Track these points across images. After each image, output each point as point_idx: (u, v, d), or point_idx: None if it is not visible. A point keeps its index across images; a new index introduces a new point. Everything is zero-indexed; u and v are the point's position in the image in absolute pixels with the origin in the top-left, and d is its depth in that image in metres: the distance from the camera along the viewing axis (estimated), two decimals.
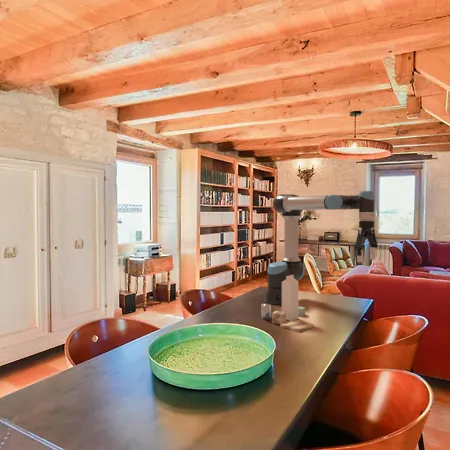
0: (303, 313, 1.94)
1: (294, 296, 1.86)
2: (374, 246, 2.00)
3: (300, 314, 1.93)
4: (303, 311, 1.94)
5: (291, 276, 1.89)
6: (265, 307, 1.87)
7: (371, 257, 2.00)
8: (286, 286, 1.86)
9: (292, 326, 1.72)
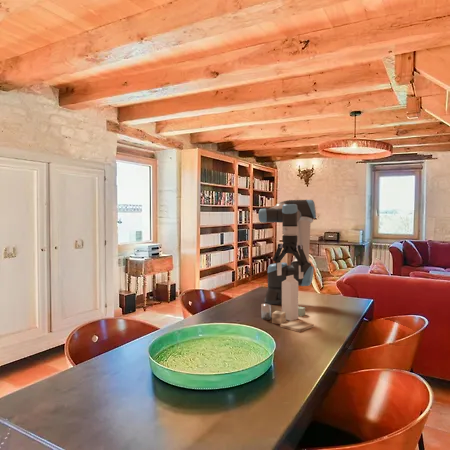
0: (303, 313, 1.94)
1: (294, 296, 1.86)
2: (300, 264, 1.82)
3: (300, 314, 1.93)
4: (303, 311, 1.94)
5: (291, 276, 1.89)
6: (265, 307, 1.87)
7: None
8: (286, 286, 1.86)
9: (292, 326, 1.72)
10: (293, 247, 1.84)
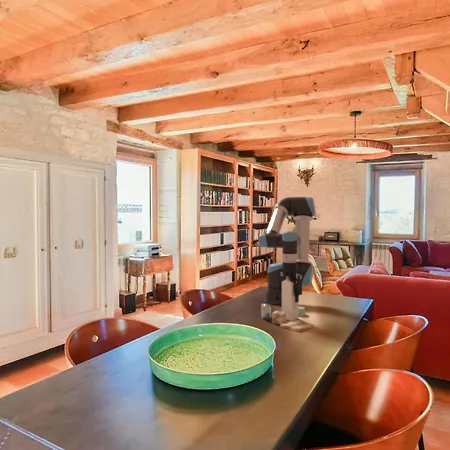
0: (303, 313, 1.94)
1: None
2: (294, 294, 1.85)
3: (300, 314, 1.93)
4: (303, 311, 1.94)
5: None
6: (265, 307, 1.87)
7: None
8: (286, 286, 1.86)
9: (292, 326, 1.72)
10: (293, 274, 1.85)
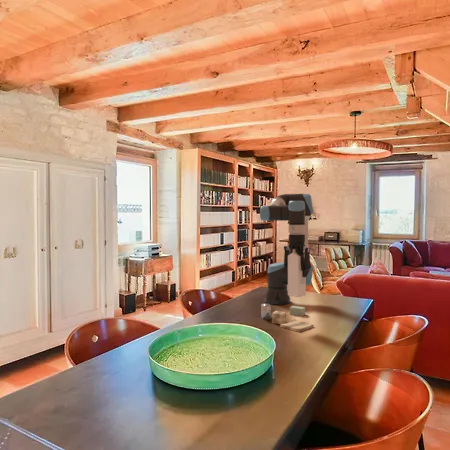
0: (303, 313, 1.94)
1: None
2: None
3: (300, 314, 1.93)
4: (303, 311, 1.94)
5: None
6: (265, 307, 1.87)
7: None
8: (293, 260, 1.72)
9: (292, 326, 1.72)
10: (300, 247, 1.71)
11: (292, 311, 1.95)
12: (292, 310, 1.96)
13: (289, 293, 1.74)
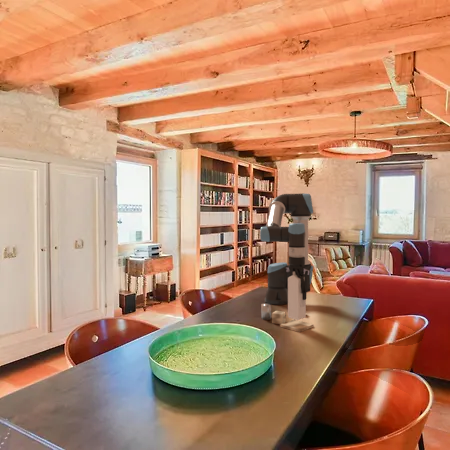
0: None
1: None
2: None
3: None
4: None
5: None
6: (265, 307, 1.87)
7: None
8: (293, 283, 1.72)
9: (292, 326, 1.72)
10: (300, 270, 1.71)
11: None
12: None
13: (289, 315, 1.74)
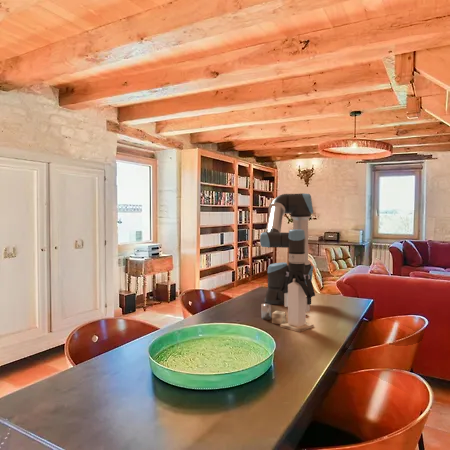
0: None
1: (301, 300, 1.72)
2: None
3: None
4: None
5: None
6: (265, 307, 1.87)
7: None
8: (293, 290, 1.72)
9: (292, 326, 1.72)
10: (300, 276, 1.71)
11: None
12: None
13: (289, 322, 1.75)
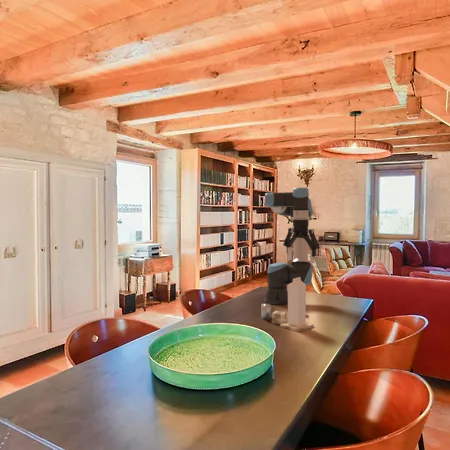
0: None
1: (301, 300, 1.72)
2: (311, 248, 1.79)
3: None
4: None
5: (298, 278, 1.75)
6: (265, 307, 1.87)
7: None
8: (293, 290, 1.72)
9: (292, 326, 1.72)
10: (304, 231, 1.81)
11: None
12: None
13: (289, 322, 1.75)
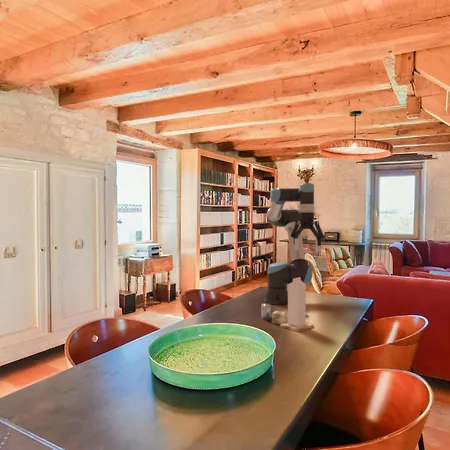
0: None
1: (301, 300, 1.72)
2: None
3: None
4: None
5: (298, 278, 1.75)
6: (265, 307, 1.87)
7: None
8: (293, 290, 1.72)
9: (292, 326, 1.72)
10: (310, 223, 1.99)
11: None
12: None
13: (289, 322, 1.75)
